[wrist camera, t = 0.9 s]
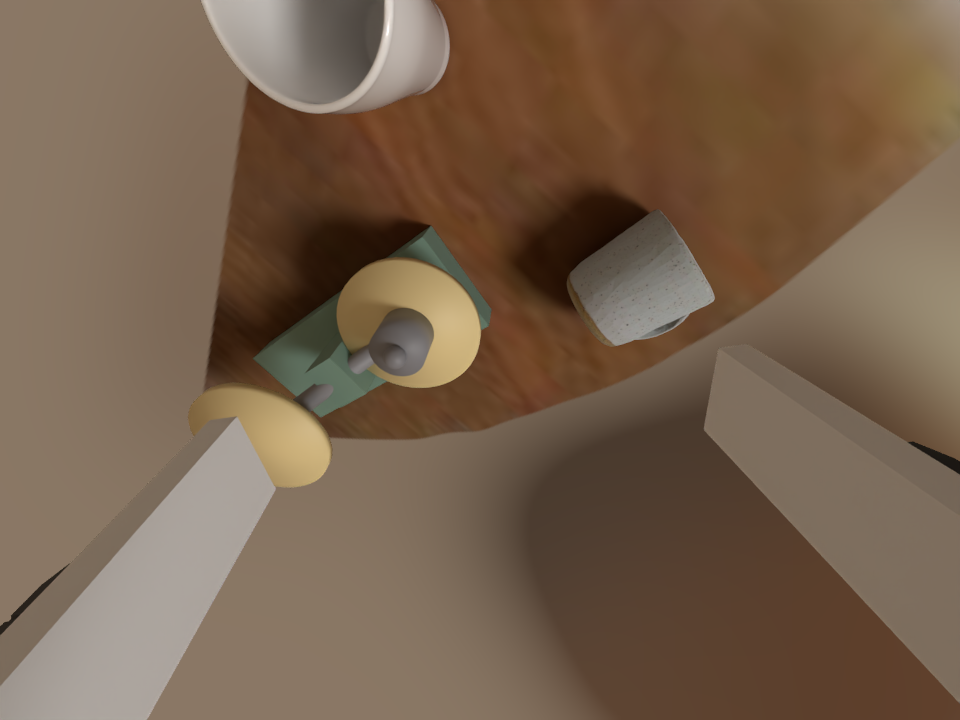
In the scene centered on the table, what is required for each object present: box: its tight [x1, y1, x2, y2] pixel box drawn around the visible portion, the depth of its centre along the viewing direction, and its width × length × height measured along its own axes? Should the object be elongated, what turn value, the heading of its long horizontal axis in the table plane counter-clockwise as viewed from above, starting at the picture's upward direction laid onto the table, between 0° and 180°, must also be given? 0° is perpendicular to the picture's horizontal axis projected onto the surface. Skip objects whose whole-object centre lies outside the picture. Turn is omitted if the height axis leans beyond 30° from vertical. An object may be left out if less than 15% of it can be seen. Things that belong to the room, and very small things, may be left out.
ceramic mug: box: [567, 209, 715, 346], centre depth 29 cm, size 11×8×8 cm
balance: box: [188, 226, 491, 487], centre depth 32 cm, size 25×11×12 cm, turn 125°
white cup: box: [201, 0, 450, 114], centre depth 18 cm, size 7×7×15 cm
